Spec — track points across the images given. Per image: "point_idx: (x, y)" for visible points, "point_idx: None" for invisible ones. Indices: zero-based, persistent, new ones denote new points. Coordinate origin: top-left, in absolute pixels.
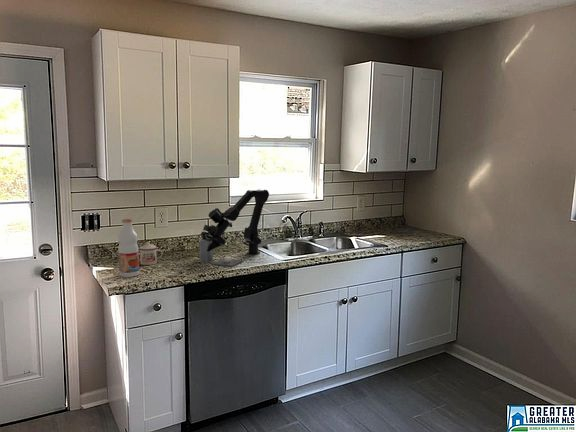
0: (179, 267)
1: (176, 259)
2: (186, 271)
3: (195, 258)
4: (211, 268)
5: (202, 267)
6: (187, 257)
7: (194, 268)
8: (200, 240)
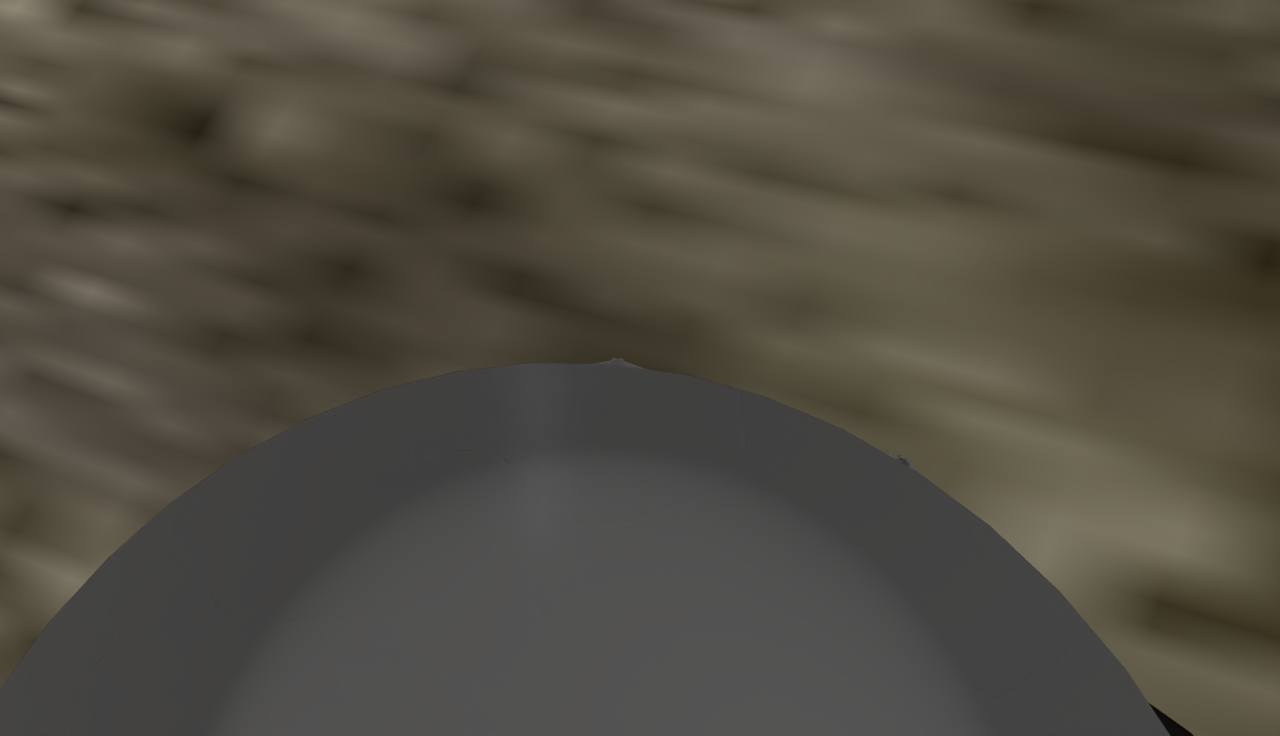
0: (417, 12)
1: (1093, 84)
2: (101, 57)
3: (1057, 488)
4: (8, 524)
5: (185, 382)
6: (1230, 341)
7: (204, 224)
8: (651, 470)
